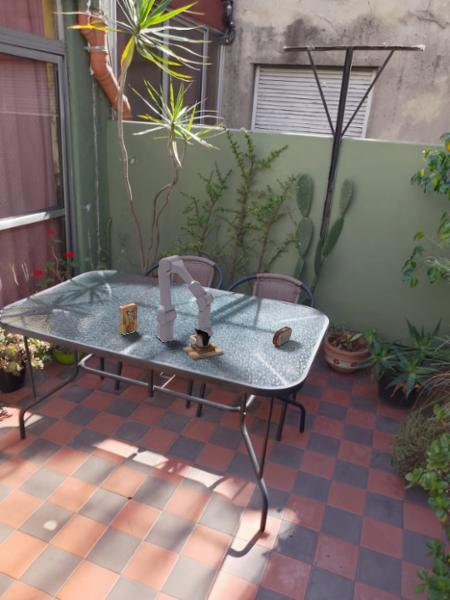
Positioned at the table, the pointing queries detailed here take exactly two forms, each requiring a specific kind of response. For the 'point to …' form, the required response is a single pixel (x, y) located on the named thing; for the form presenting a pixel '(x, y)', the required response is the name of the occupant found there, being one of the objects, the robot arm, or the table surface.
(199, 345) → the billet
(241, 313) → the table surface
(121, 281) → the table surface
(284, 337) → the sandwich
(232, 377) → the table surface
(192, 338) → the button housing
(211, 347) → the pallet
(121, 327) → the candy box
